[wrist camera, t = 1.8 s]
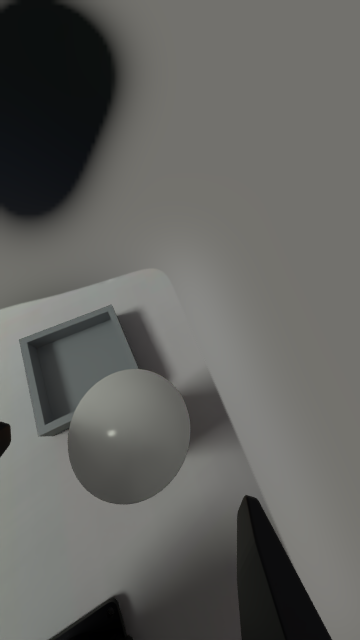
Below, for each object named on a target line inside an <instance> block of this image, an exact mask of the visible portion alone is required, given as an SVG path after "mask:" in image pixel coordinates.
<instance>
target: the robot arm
mask: <svg viewBox="0 0 360 640" xmlns="http://www.w3.org/2000/svg"><path fill="white" fill-rule="evenodd" d="M10 442H11V429H10V425H9V424H7V423H4V422H0V457H1V456H2V454H3V453H4V452H5V450H6V449H7V448H8V446H9V445H10ZM237 584H238V598H239V611H240V624H241V637H242V640H332V639H331V637H330V635H329V633H328V632H327V629H326V627H325V626H324V624H323V622H322V620H321V618H320V616H319V614H318V612H317V610H316V609H315V607H314V605H313V603H312V601H311V599H310V597H309V595H308V593H307V592H306V590H305V588H304V586H303V584H302V582H301V580H300V578H299V576H298V575H297V573H296V571H295V569H294V567H293V565H292V563H291V561H290V559H289V557H288V556H287V554H286V552H285V550H284V548H283V546H282V544H281V542H280V540H279V539H278V537H277V535H276V533H275V531H274V529H273V527H272V525H271V523H270V522H269V520H268V518H267V516H266V514H265V512H264V510H263V508H262V506H261V505H260V503H259V501H258V500H257V499H256V498H254V497H251V496H248V495H246V496H244V498H243V500H242V503H241V505H240V507H239V510H238V515H237ZM109 607H112V608H113V609H114V613H113V614H109V612H108V608H109ZM50 640H133V638H132V637H131V636H129V635H127V634H126V630H125V626H124V622H123V618H122V615H121V611H120V607H119V603H118V601H117V600H116V599H115V598H111V599H109V600H107V601H106V602H104V603H103V604H101V605H100V606H98V607H97V608H96V609H94V610H93V611H91V612H90V613H88V614H87V615H85V616H84V617H82V618H81V619H79V620H78V621H77V622H75V623H74V624H72V625H71V626H69V627H68V628H66V629H65V630H63V631H62V632H60V633H59V634H58V635H56V636H55V637H53V638H52V639H50Z"/></svg>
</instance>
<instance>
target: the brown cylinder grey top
mask: <svg viewBox="0 0 360 640" xmlns="http://www.w3.org/2000/svg"><path fill="white" fill-rule="evenodd" d="M190 433H191V432H190V418H189V413H188V410H187V407H186V404H185V402H184V400H183V398H182V396H181V394H180V393H179V391H178V390H177V389H176V387H175V386H174V385H173V384H172V383H171V382H169V381H168V380H167V379H166V378H164V377H162V376H161V375H159V374H157V373H154V372H152V371H148V370H143V369H128V370H122V371H118V372H115V373H113V374H110V375H108V376H107V377H105V378H103V379H102V380H100V381H99V382H97V383H96V384H95V385H94V386H93V387H91V389H90V390H89V391H88V392H87V393H86V394H85V395H84V397H83V398H82V399H81V401H80V403H79V404H78V406H77V408H76V410H75V412H74V414H73V417H72V420H71V423H70V428H69V433H68V453H69V458H70V462H71V466H72V469H73V471H74V473H75V475H76V477H77V478H78V480H79V481H80V483H81V484H82V485H83V486H84V488H85V489H86V490H87V491H89V492H90V493H91V494H92V495H94V496H95V497H97V498H99V499H101V500H103V501H106V502H109V503H114V504H133V503H138V502H141V501H144V500H147V499H149V498H150V497H152V496H154V495H156V494H157V493H159V492H160V491H162V490H163V489H164V488H165V487H166V486H167V485H168V484H169V483H170V482H171V481H172V480H173V478H174V477H175V476H176V474H177V473H178V471H179V470H180V468H181V466H182V464H183V462H184V460H185V457H186V454H187V451H188V447H189V443H190Z"/></svg>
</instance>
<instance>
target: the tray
mask: <svg viewBox="0 0 360 640" xmlns="http://www.w3.org/2000/svg"><path fill="white" fill-rule="evenodd" d="M19 342H20V347H21V352H22V357H23V362H24V367H25V372H26V377H27V382H28V387H29V392H30V397H31V402H32V407H33V412H34V417H35V422H36V427H37V432H38V436H54V435H56V434H58V433H60V432H62V431H65V430H67V429H69V428H70V423H71V420H72V417H73V414H74V412H75V410H76V408H77V406H78V404H79V403H80V401H81V399H82V398H83V397H84V395H85V394H86V393H87V392H88V391H89V390H90V389H91V387H93V386H94V385H95V384H96V383H97V382H99V381H100V380H102V379H103V378H105V377H107V376H108V375H110V374H113V373H115V372H118V371H122V370H128V369H139V368H138V365H137V363H136V360H135V358H134V356H133V353H132V351H131V348H130V346H129V344H128V341H127V339H126V336H125V334H124V332H123V329H122V327H121V325H120V322H119V320H118V317H117V315H116V313H115V311H114V308H113V306H112V305H109V306H106V307H104V308H101V309H99V310H96V311H93V312H91V313H88V314H85V315H83V316H80V317H77V318H75V319H72V320H70V321H67V322H64V323H62V324H59V325H56V326H54V327H51V328H48V329H46V330H43V331H41V332H38V333H35V334H33V335H30V336H27V337H25V338H22V339H19Z"/></svg>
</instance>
